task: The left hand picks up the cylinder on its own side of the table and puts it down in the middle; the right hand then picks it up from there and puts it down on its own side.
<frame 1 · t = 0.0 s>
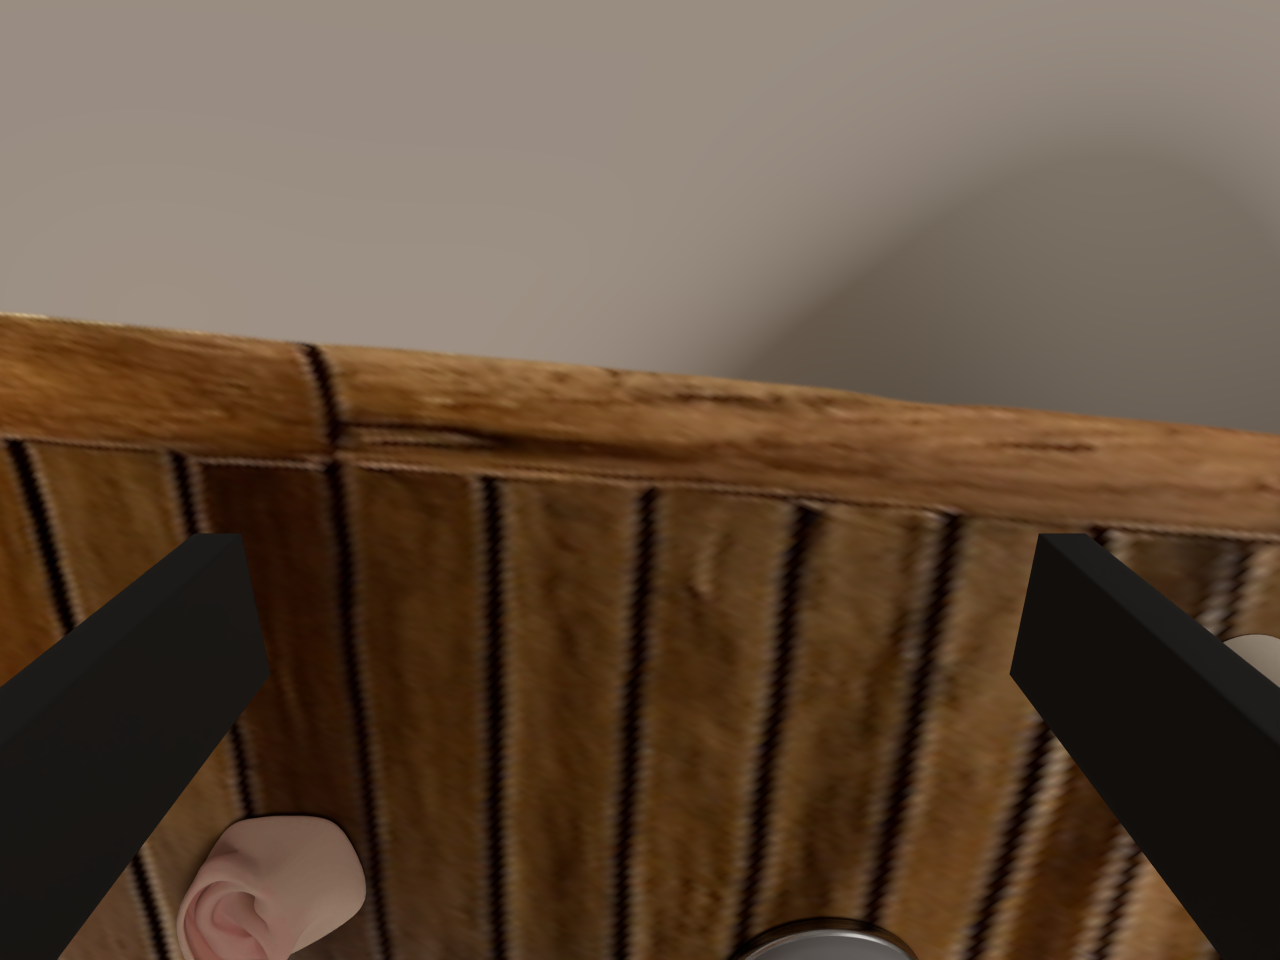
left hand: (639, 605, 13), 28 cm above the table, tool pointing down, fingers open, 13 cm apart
anatomical model: (281, 880, 53), on the table
cylinder: (1240, 680, 47), on the table
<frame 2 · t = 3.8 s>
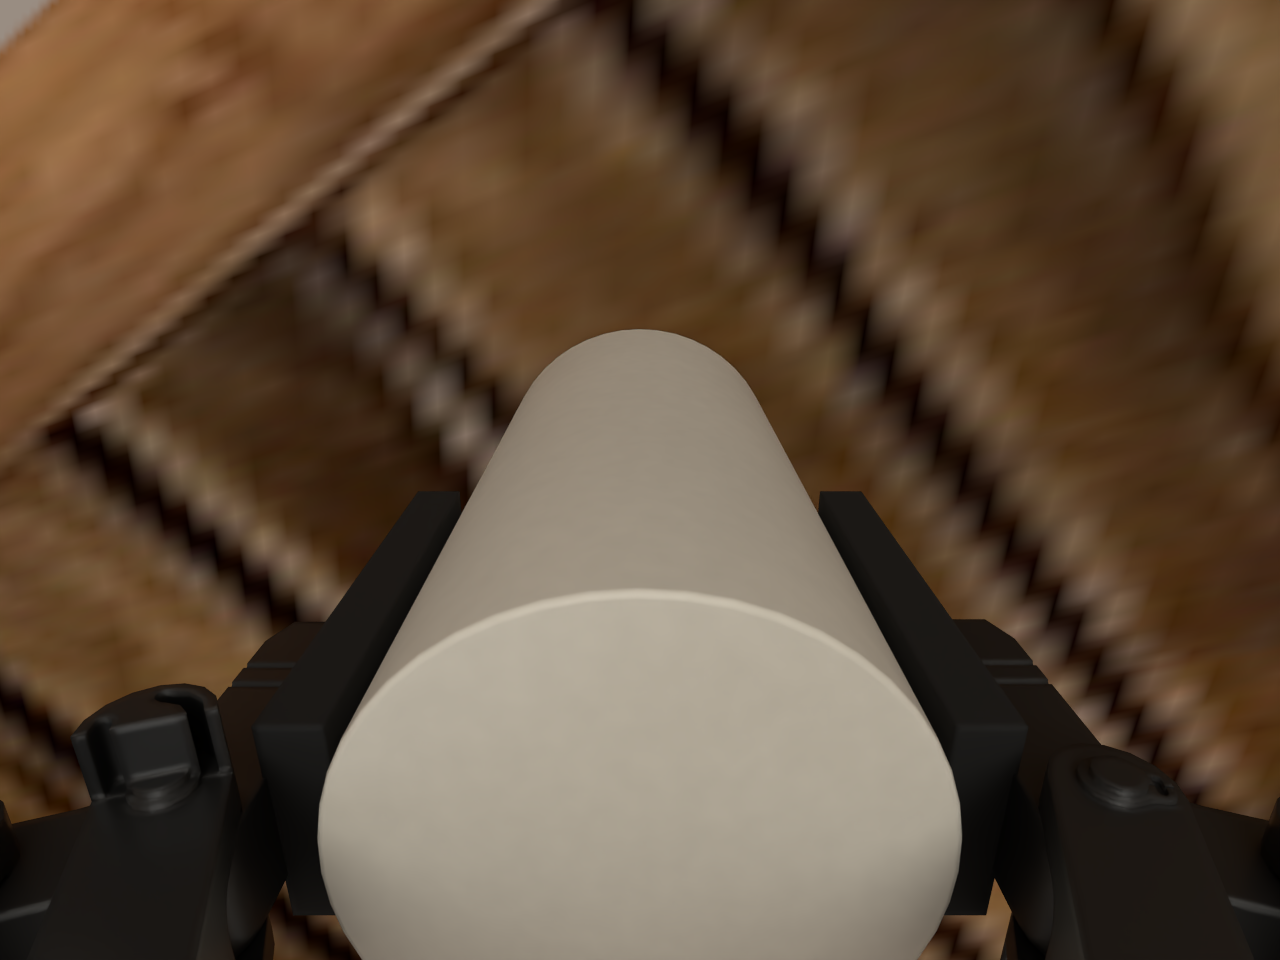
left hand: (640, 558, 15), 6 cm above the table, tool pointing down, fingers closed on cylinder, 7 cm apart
cylinder: (639, 457, 20), on the table, touching left hand
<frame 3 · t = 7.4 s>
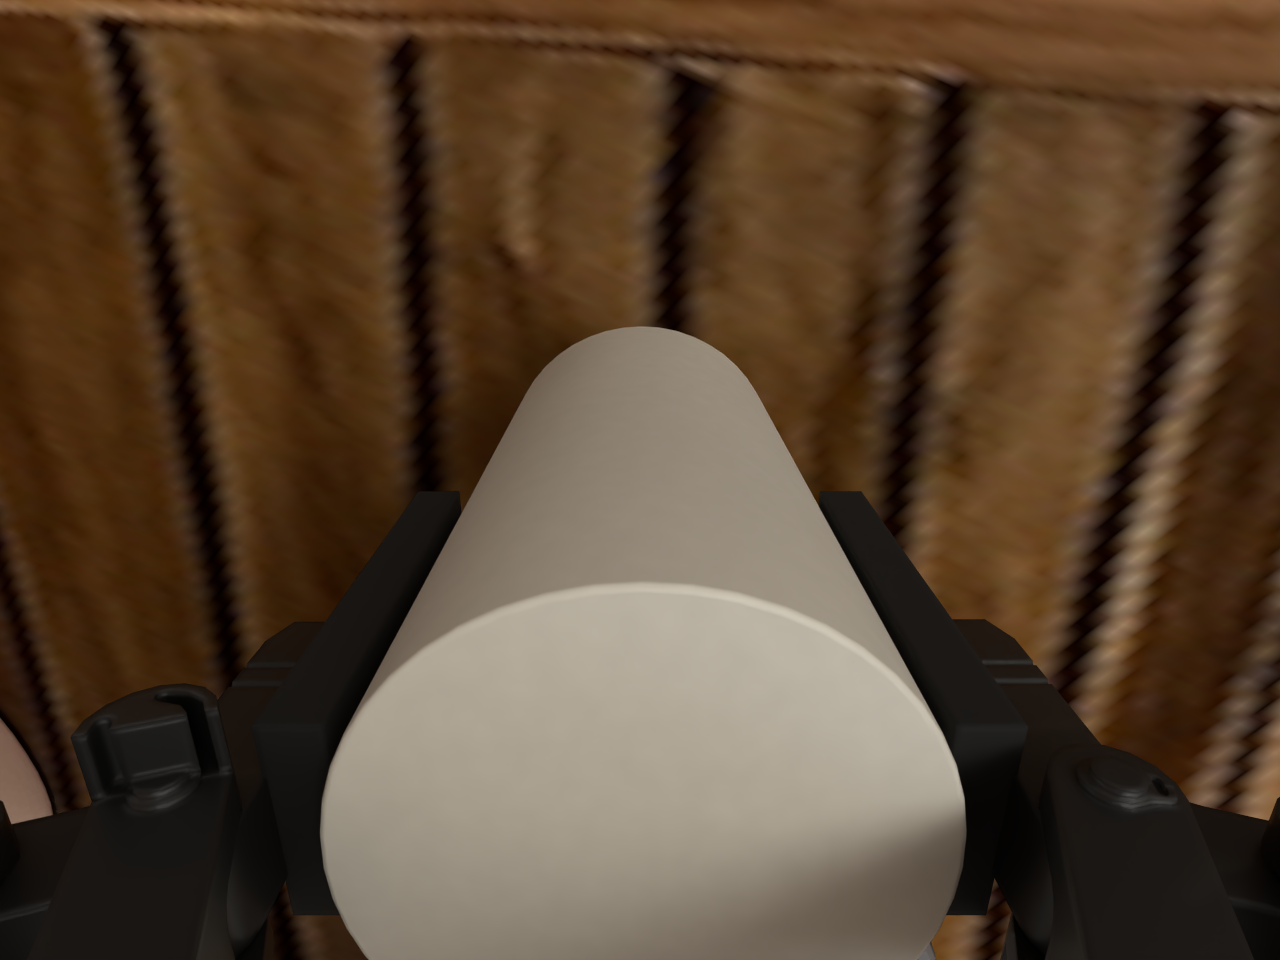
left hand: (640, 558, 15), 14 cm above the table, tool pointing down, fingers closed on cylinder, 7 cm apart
cylinder: (641, 455, 20), point 8 cm above the table, touching left hand
when the left hand's fingers open (7 cm above the table, at t = 11.4 s): cylinder drops 1 cm, on the table.
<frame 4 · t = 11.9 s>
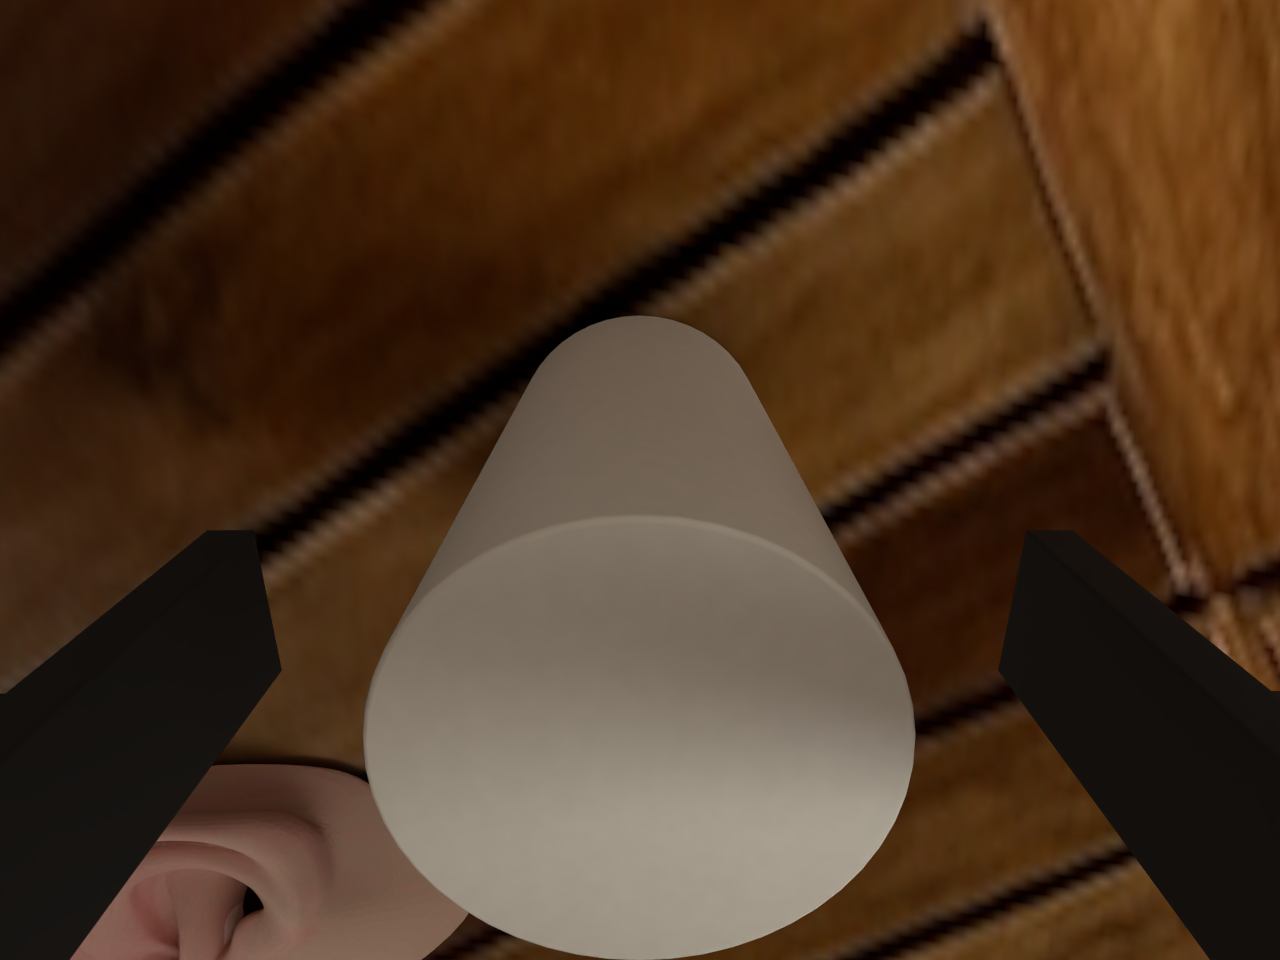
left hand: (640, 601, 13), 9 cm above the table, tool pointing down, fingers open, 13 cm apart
anatomical model: (275, 873, 27), on the table
cylinder: (639, 436, 21), on the table
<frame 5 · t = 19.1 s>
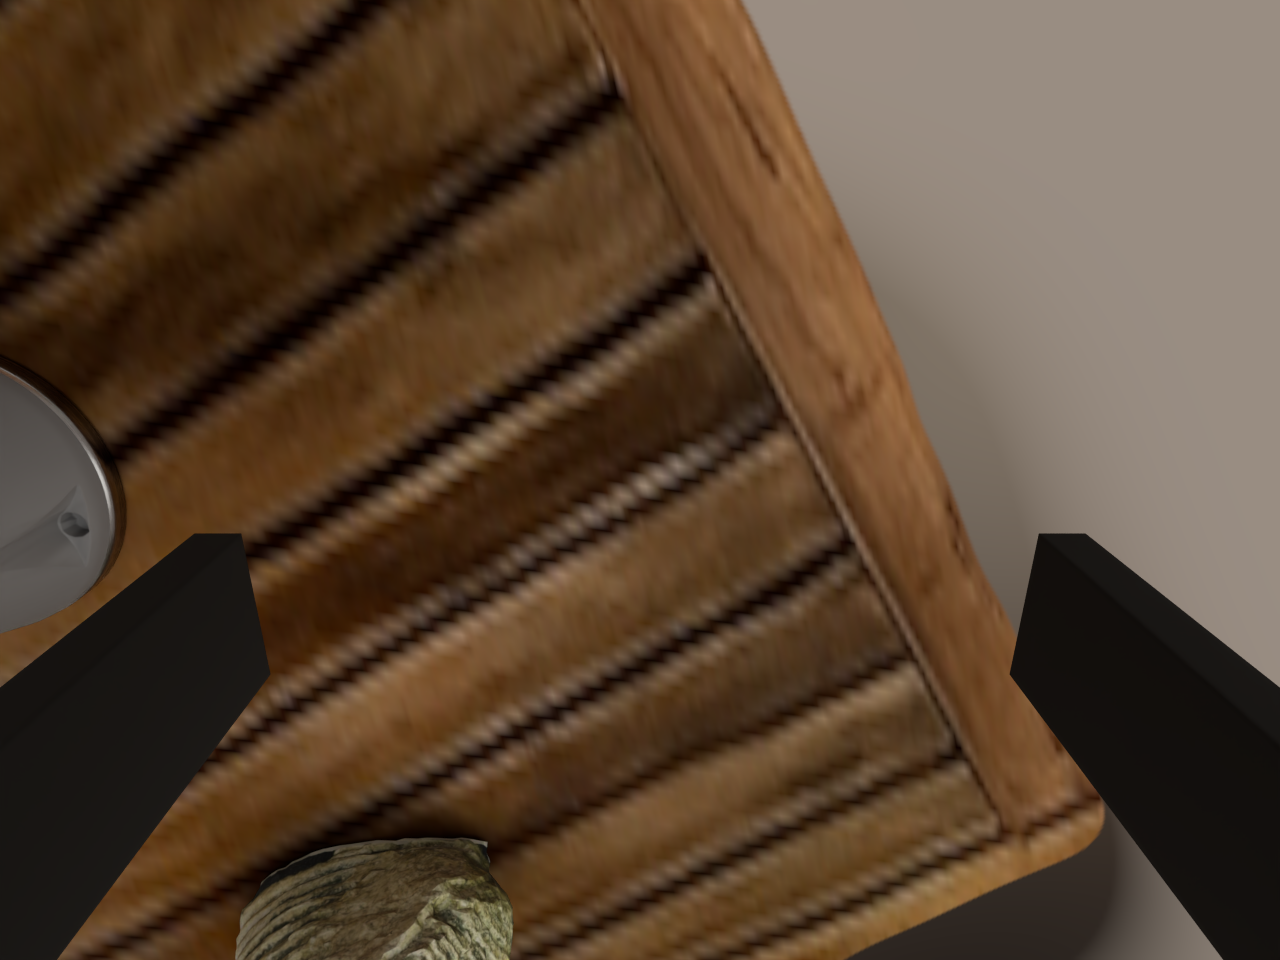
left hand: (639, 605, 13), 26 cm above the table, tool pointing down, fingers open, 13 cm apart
fossil: (391, 876, 51), on the table
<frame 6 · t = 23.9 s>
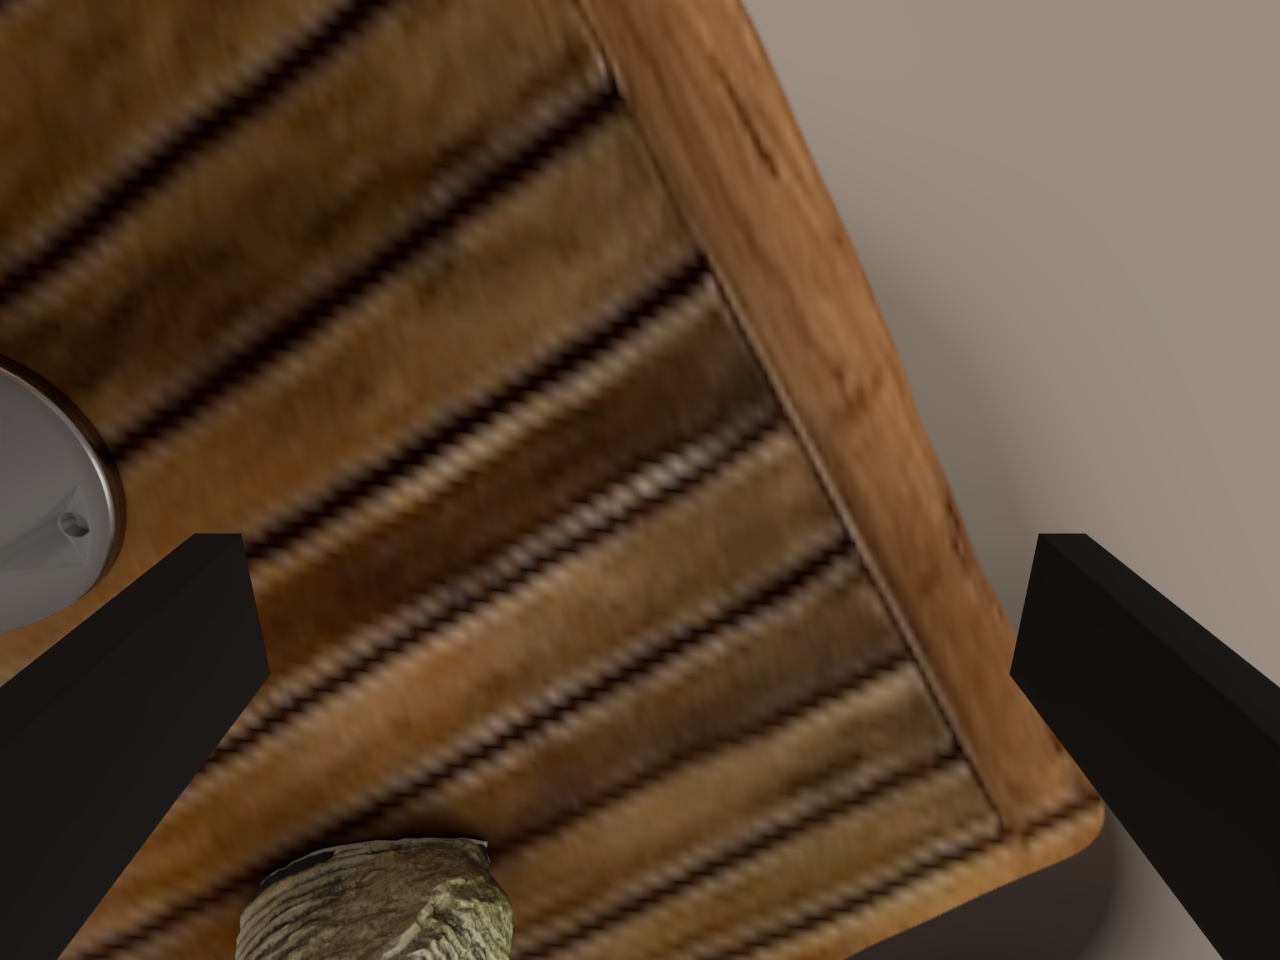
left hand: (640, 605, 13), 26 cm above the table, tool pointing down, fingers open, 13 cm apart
fossil: (391, 876, 51), on the table
when the right hand's fingers open (7 cm above the table, at t = 28.7 s): cylinder drops 1 cm, on the table.
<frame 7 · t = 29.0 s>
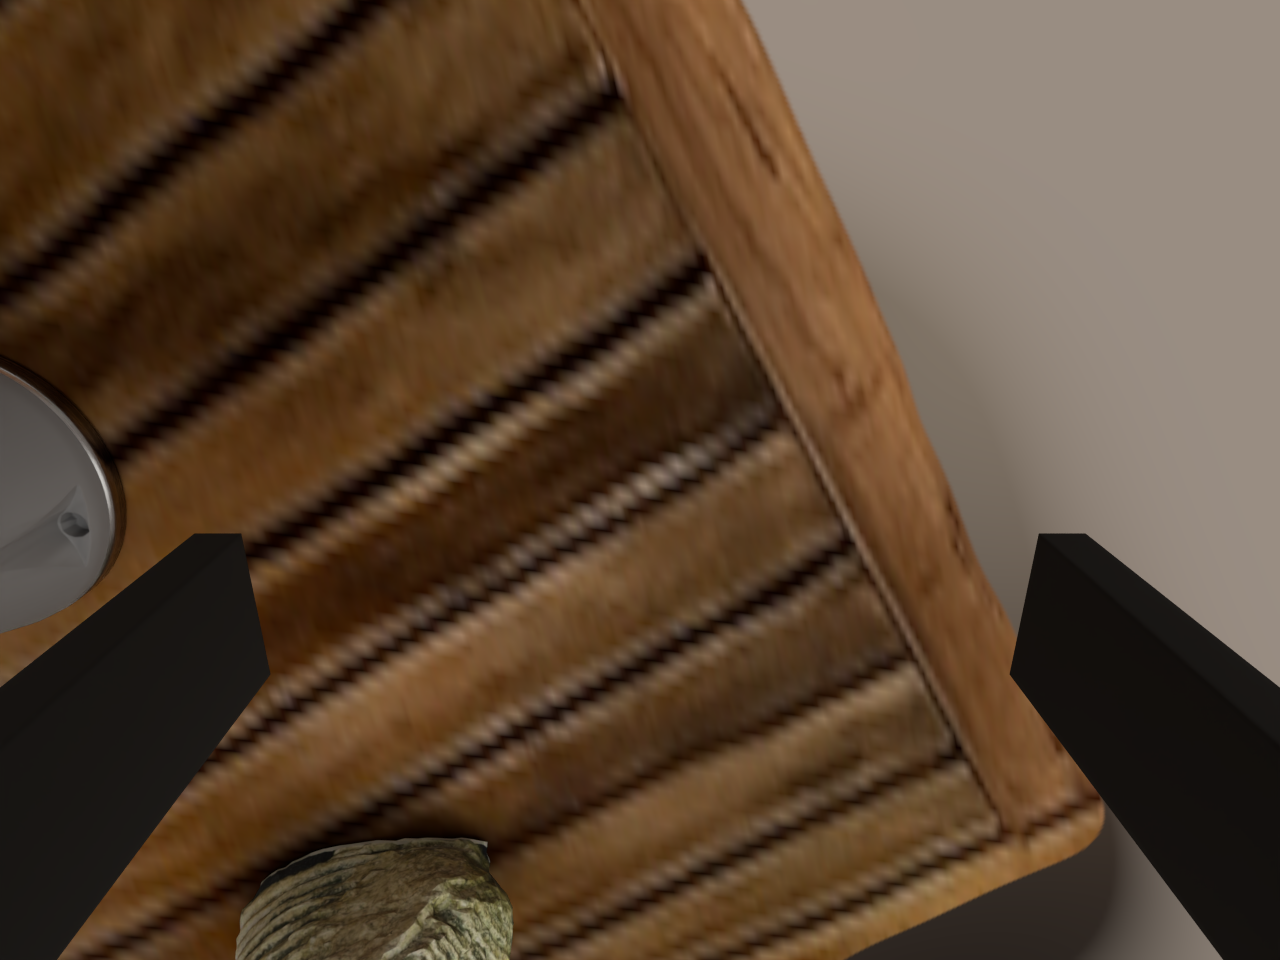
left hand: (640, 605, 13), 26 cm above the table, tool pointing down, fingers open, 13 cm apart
fossil: (391, 876, 51), on the table
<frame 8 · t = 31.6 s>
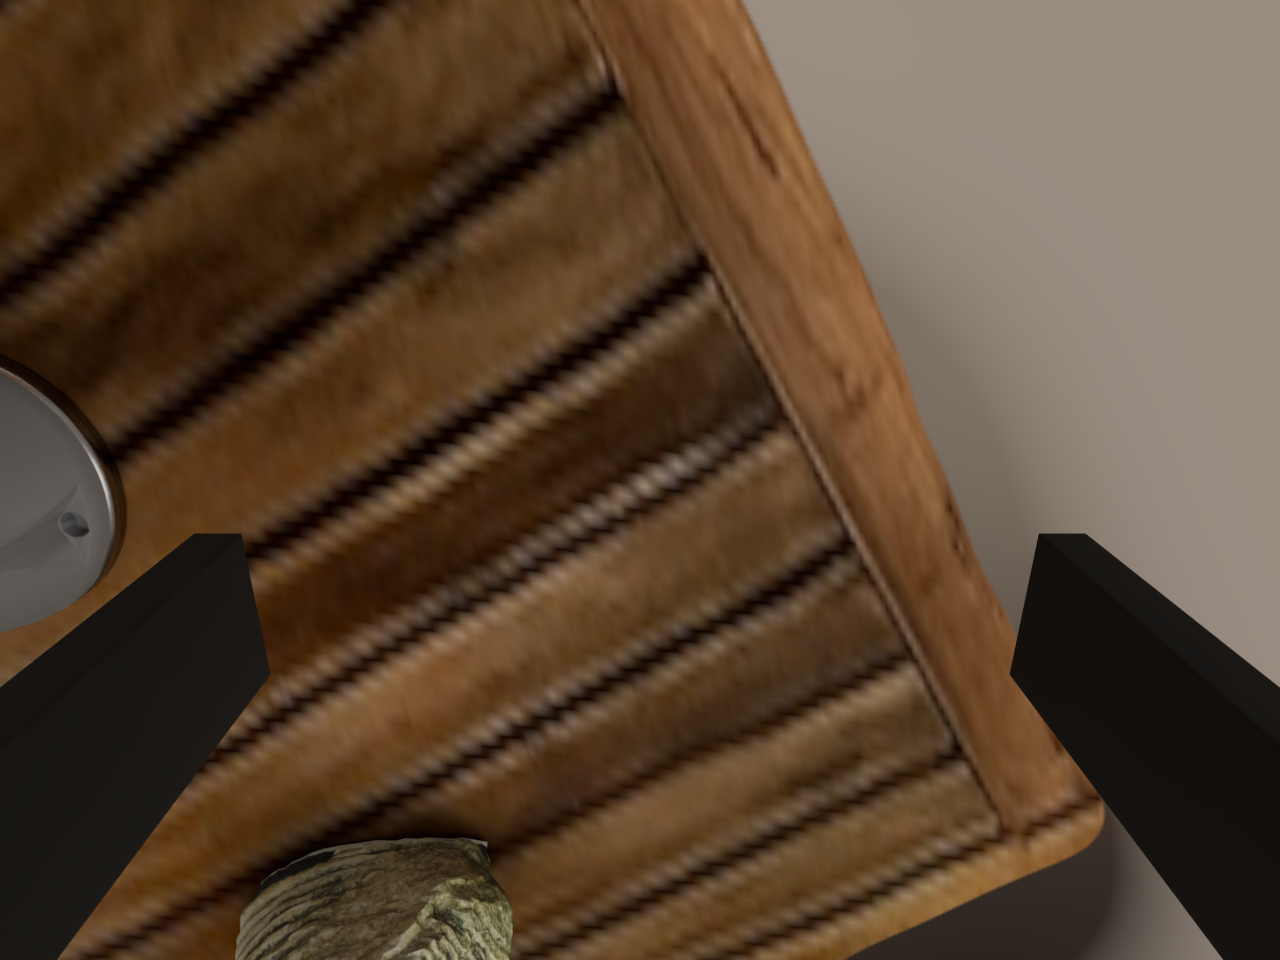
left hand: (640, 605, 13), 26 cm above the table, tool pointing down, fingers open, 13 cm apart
fossil: (391, 876, 51), on the table
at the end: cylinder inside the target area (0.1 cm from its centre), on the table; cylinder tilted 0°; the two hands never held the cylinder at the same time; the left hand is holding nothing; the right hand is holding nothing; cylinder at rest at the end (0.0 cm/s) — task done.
